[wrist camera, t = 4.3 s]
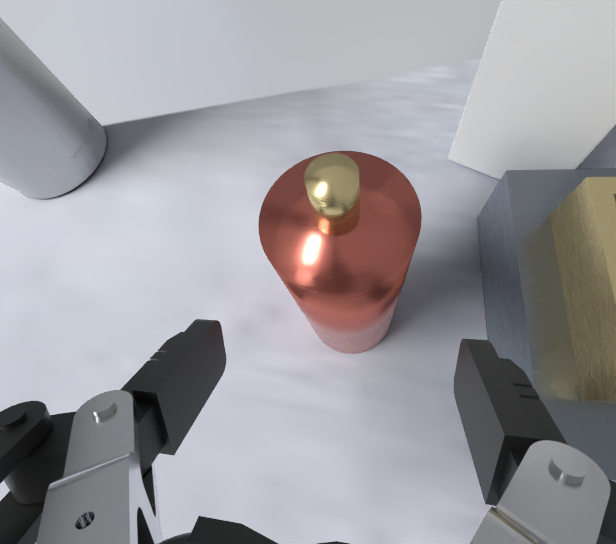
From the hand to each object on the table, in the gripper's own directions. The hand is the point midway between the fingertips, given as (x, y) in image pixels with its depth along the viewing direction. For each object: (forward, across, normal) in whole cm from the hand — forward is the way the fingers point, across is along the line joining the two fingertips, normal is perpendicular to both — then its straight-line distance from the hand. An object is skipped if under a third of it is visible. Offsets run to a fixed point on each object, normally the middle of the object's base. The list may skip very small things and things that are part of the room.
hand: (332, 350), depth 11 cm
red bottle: (+9, 0, +4) cm, 10 cm away
